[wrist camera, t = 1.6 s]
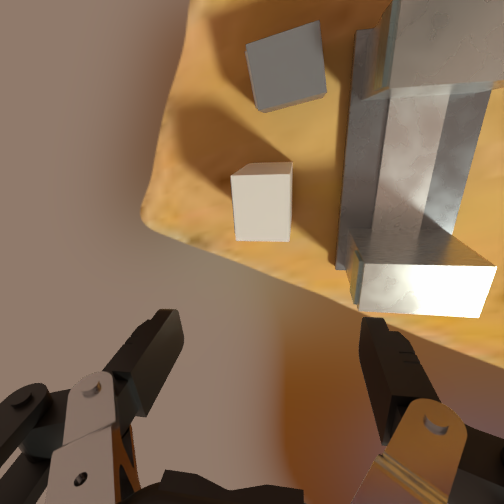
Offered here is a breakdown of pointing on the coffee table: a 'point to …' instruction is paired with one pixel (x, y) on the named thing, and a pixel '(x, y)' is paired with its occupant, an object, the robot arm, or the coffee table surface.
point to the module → (262, 201)
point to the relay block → (287, 68)
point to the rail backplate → (417, 155)
